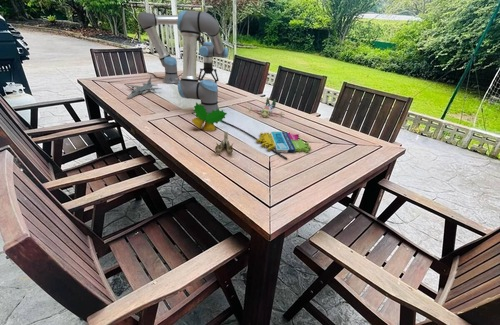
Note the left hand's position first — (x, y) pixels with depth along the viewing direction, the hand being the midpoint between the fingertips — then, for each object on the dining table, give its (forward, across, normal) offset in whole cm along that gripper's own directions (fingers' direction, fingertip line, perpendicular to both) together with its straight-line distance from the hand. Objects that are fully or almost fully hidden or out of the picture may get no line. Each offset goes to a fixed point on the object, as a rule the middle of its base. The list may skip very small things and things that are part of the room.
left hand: (197, 53), depth 277 cm
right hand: (+20, -34, -60) cm, 72 cm away
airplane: (+26, -77, -24) cm, 84 cm away
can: (+26, -34, -60) cm, 74 cm away
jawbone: (+26, -97, -151) cm, 182 cm away
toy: (+26, -27, -123) cm, 128 cm away
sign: (+26, -64, -165) cm, 179 cm away
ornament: (+26, -83, -122) cm, 150 cm away
